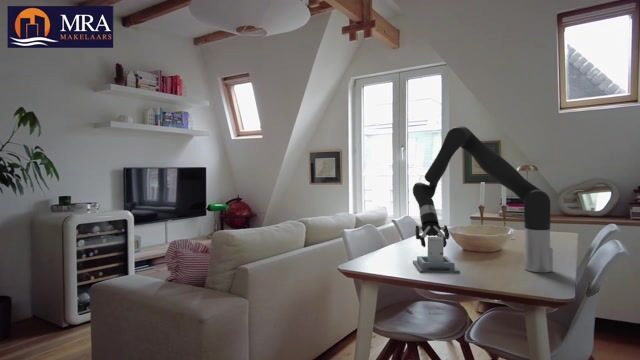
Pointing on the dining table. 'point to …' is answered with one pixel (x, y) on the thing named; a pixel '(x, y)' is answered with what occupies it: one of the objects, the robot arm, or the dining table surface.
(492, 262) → the dining table surface
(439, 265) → the tray
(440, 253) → the skincare box
